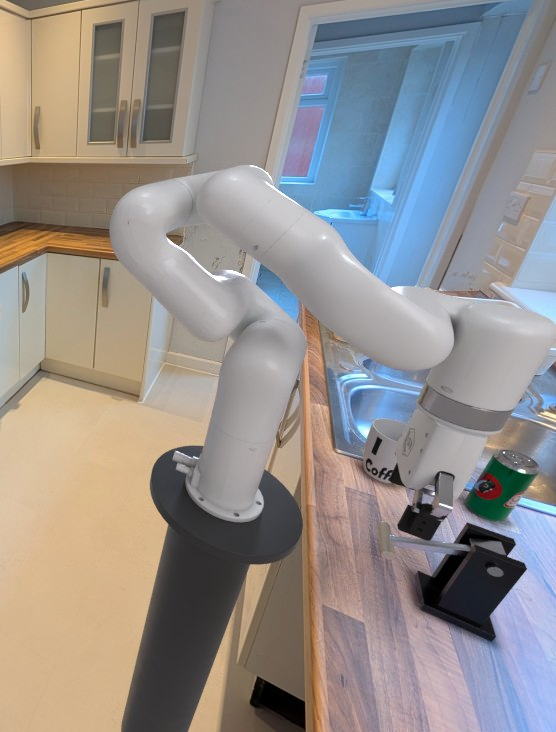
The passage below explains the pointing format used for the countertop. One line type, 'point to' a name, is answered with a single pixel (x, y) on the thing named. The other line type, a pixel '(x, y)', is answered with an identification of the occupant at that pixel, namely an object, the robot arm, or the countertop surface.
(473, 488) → the soda can
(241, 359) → the robot arm
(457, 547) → the tap lever
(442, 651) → the countertop surface
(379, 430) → the cup
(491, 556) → the bracket
